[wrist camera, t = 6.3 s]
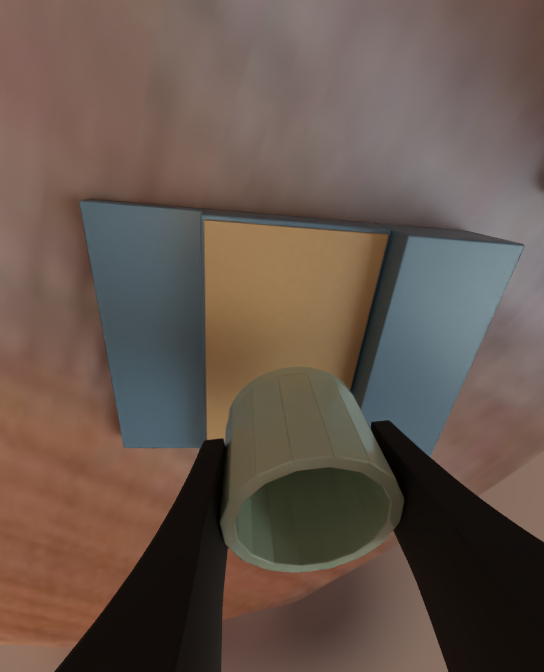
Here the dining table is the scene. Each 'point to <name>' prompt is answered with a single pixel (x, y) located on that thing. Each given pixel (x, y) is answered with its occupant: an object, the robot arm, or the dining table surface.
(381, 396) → the step shelf
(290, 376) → the cup
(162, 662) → the robot arm
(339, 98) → the dining table surface
